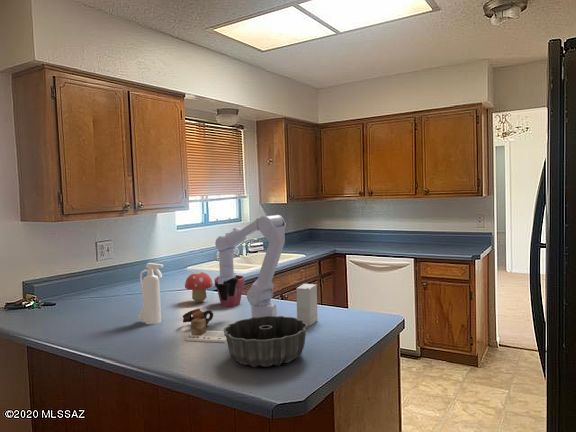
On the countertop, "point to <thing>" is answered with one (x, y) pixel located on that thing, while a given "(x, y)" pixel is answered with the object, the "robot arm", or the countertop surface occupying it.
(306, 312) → the skincare box
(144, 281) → the fire extinguisher
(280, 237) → the robot arm
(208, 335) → the board
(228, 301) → the plant pot
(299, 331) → the bundt pan
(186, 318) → the pottery mug
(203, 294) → the decorative mushroom
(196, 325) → the walnut block
